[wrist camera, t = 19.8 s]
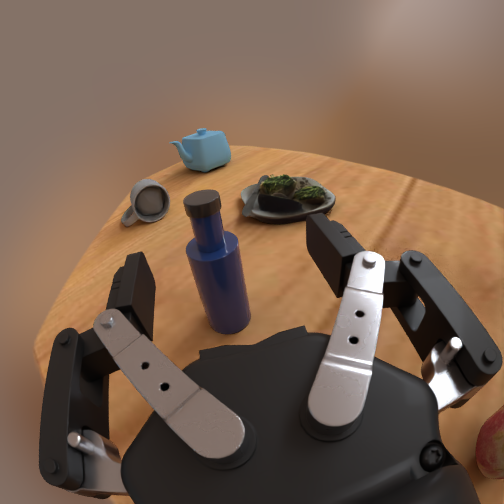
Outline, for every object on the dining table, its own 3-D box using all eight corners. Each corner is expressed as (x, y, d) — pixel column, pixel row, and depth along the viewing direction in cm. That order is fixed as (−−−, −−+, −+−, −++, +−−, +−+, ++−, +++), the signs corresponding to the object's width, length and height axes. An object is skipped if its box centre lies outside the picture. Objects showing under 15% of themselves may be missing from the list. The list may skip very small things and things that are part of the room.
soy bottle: (221, 298, 33) (194, 184, 24) (257, 307, 31) (240, 186, 23) (201, 326, 30) (160, 208, 21) (239, 339, 28) (209, 213, 19)
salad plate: (229, 189, 60) (225, 170, 57) (304, 176, 62) (304, 157, 59) (247, 233, 44) (243, 208, 41) (346, 213, 46) (347, 189, 44)
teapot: (167, 176, 75) (158, 138, 68) (215, 156, 84) (210, 122, 77) (189, 182, 67) (180, 140, 60) (241, 161, 76) (236, 123, 70)
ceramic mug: (164, 201, 59) (155, 170, 55) (174, 213, 53) (165, 178, 49) (121, 219, 55) (110, 188, 51) (126, 234, 49) (113, 199, 45)
